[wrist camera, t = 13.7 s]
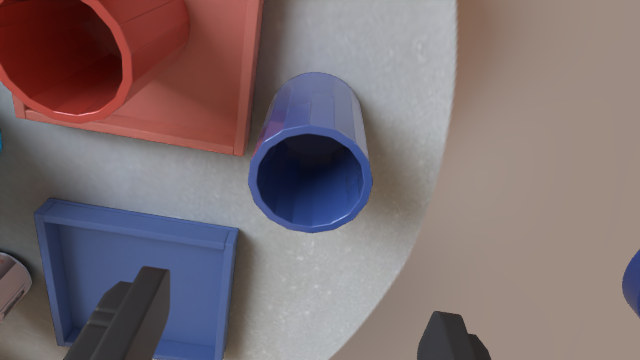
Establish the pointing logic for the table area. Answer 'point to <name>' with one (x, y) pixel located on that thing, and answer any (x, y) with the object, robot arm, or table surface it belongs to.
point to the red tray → (194, 85)
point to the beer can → (12, 283)
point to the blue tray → (125, 263)
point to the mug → (0, 142)
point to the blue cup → (312, 156)
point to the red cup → (87, 52)
